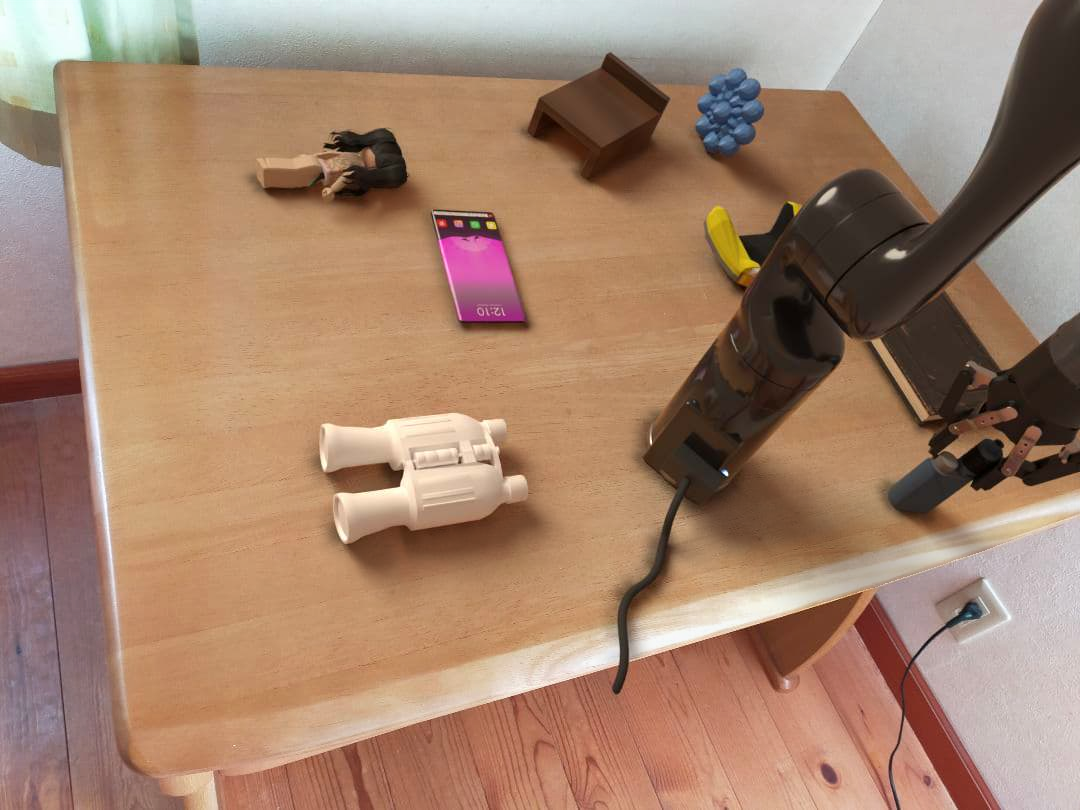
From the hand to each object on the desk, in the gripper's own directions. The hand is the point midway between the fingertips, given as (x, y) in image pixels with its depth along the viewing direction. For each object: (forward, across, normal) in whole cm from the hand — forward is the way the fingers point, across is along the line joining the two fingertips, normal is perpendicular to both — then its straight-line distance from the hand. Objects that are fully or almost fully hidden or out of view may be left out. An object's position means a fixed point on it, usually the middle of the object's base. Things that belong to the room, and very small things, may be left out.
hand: (955, 466), depth 86 cm
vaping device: (+8, 0, 0) cm, 8 cm away
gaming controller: (+8, -30, +16) cm, 35 cm away
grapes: (+8, -45, +30) cm, 55 cm away
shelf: (+7, -56, +15) cm, 59 cm away
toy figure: (+7, -66, -19) cm, 69 cm away
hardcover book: (+8, -9, +24) cm, 27 cm away
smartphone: (+7, -49, -15) cm, 52 cm away
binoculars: (+7, -35, -38) cm, 52 cm away
